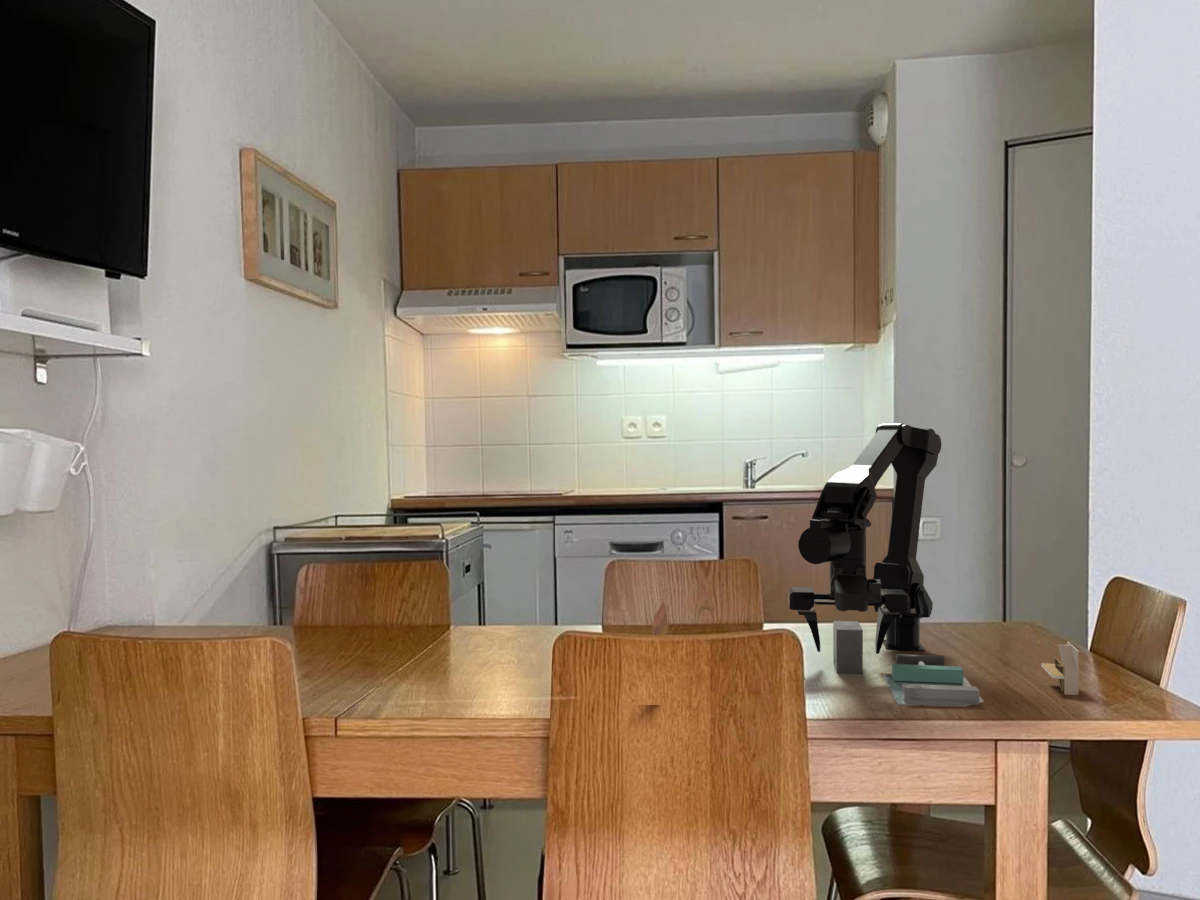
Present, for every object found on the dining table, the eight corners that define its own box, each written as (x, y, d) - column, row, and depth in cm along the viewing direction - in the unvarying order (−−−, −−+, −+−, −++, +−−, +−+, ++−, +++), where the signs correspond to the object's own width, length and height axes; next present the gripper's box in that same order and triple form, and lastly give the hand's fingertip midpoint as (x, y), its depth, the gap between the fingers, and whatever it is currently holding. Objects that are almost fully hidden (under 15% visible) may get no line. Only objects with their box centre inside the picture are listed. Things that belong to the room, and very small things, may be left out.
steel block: (836, 673, 143) (836, 629, 142) (833, 662, 149) (833, 620, 149) (862, 674, 142) (862, 630, 142) (858, 663, 148) (858, 621, 148)
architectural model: (1053, 701, 129) (1053, 650, 128) (1041, 687, 135) (1041, 638, 135) (1079, 703, 128) (1079, 651, 128) (1065, 688, 135) (1065, 639, 134)
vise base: (883, 676, 140) (883, 660, 140) (964, 679, 138) (964, 663, 138) (898, 707, 125) (898, 689, 125) (988, 711, 123) (989, 693, 123)
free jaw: (886, 666, 144) (886, 652, 144) (952, 668, 142) (952, 654, 142) (893, 680, 136) (893, 666, 136) (963, 683, 134) (963, 668, 134)
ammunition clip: (662, 697, 131) (662, 615, 131) (650, 696, 132) (649, 615, 131) (670, 676, 142) (669, 601, 141) (658, 675, 142) (657, 600, 142)
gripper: (790, 563, 139) (790, 663, 139) (916, 565, 135) (916, 668, 136) (788, 553, 149) (788, 645, 150) (904, 554, 146) (904, 649, 147)
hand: (847, 652), depth 145 cm, fingers open, 9 cm apart
